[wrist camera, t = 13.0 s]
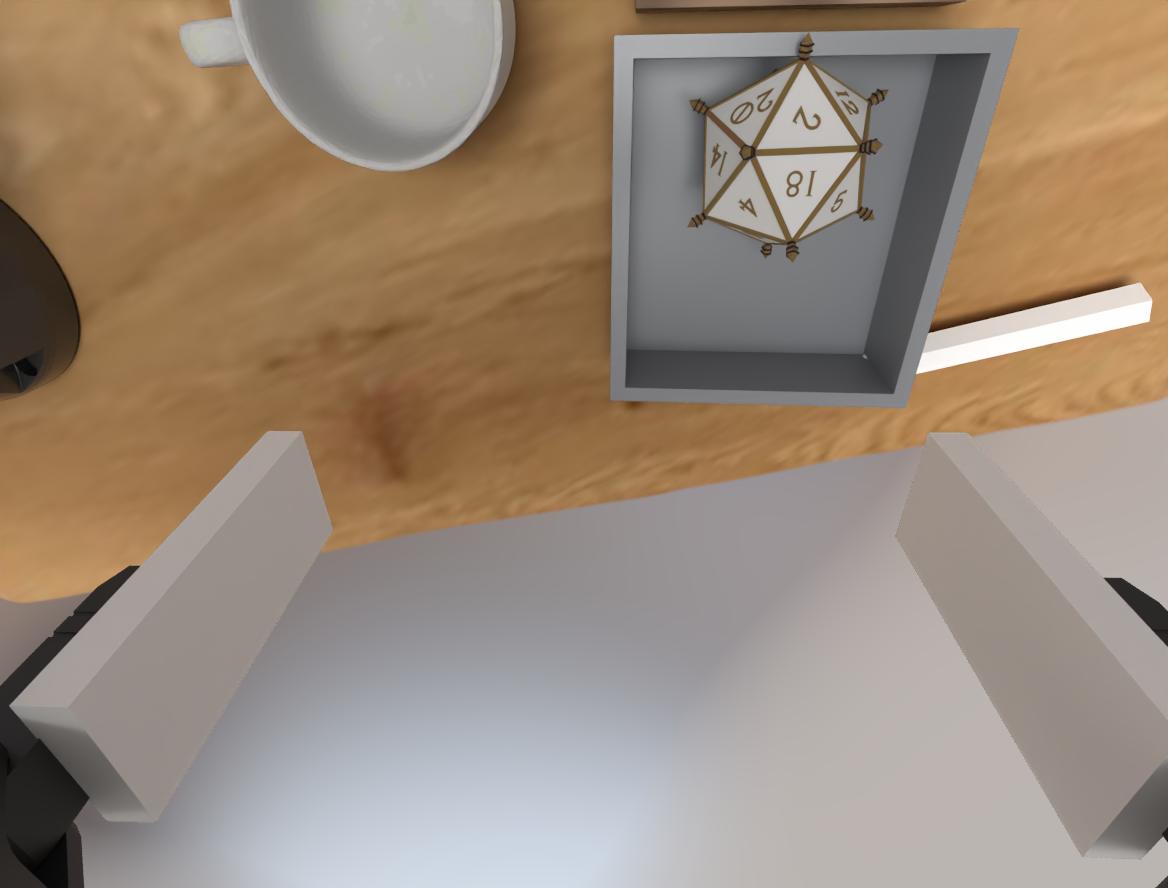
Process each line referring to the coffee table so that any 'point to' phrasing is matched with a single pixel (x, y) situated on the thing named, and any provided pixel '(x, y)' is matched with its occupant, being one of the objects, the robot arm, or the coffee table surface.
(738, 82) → the bin
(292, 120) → the teacup
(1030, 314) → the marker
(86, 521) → the coffee table surface
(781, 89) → the game die
